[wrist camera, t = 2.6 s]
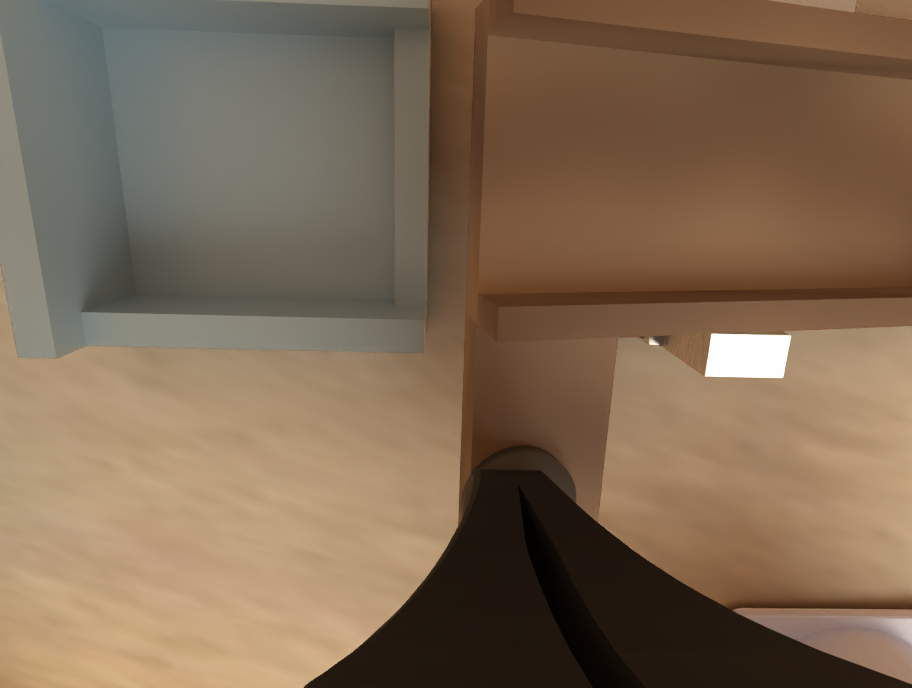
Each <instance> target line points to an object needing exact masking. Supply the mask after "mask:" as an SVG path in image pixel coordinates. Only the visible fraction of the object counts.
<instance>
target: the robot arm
mask: <svg viewBox="0 0 912 688" xmlns="http://www.w3.org/2000/svg"><path fill="white" fill-rule="evenodd" d="M304 688H912V609H802V608H738V609H734V610H730V609H729V608H727V607H725V606H723V605H721V604H719V603H717V602H715V601H714V600H712V599H710V598H708V597H706V596H704V595H702V594H700V593H699V592H697V591H695V590H694V589H692V588H690V587H688V586H687V585H685V584H683V583H682V582H680V581H678V580H677V579H675V578H674V577H672V576H671V575H669V574H667V573H666V572H664V571H663V570H661V569H660V568H658V567H657V566H655V565H653V564H652V563H650V562H649V561H647V560H646V559H644V558H643V557H642V556H640V555H639V554H637V553H636V552H635V551H633V550H632V549H631V548H629V547H628V546H627V545H625V544H624V543H623V542H622V541H620V540H619V539H618V538H616V537H615V536H614V535H612V534H611V533H610V532H609V531H607V530H606V529H605V528H604V527H603V526H601V525H600V524H599V523H598V522H597V521H595V520H594V519H593V518H592V517H591V516H590V515H589V514H587V513H586V512H585V511H584V510H583V509H582V508H581V507H580V506H578V505H577V504H576V503H575V502H574V501H573V500H572V499H571V498H570V497H569V496H568V495H567V494H566V493H564V492H563V491H562V490H561V489H560V488H559V487H558V486H557V485H556V484H555V483H554V482H553V481H552V480H551V479H550V478H549V477H548V476H547V475H546V474H544V473H543V472H542V471H541V470H490V469H480V470H478V471H477V472H476V473H475V474H474V480H473V491H472V494H471V497H470V501H469V503H468V506H467V508H466V510H465V513H464V515H463V518H462V520H461V522H460V524H459V526H458V528H457V530H456V532H455V533H454V535H453V537H452V539H451V541H450V543H449V544H448V546H447V548H446V550H445V551H444V553H443V554H442V556H441V557H440V559H439V560H438V562H437V563H436V565H435V566H434V568H433V569H432V570H431V572H430V573H429V575H428V576H427V577H426V579H425V580H424V581H423V582H422V584H421V585H420V586H419V587H418V588H417V590H416V591H415V592H414V593H413V594H412V595H411V597H410V598H409V599H408V600H407V601H406V602H405V604H404V605H403V606H402V607H401V608H400V609H399V610H398V611H397V612H396V613H395V614H394V615H393V616H392V617H391V618H390V619H389V620H388V621H387V622H386V623H384V624H383V625H382V626H381V627H380V628H379V629H378V630H377V631H376V632H375V633H374V634H373V635H372V636H370V637H369V638H368V639H367V640H366V641H365V642H364V643H363V644H362V645H360V646H359V647H358V648H357V649H356V650H354V651H353V652H352V653H351V654H349V655H348V656H346V657H345V658H344V659H342V660H341V661H339V662H338V663H337V664H335V665H334V666H333V667H331V668H330V669H328V670H327V671H326V672H324V673H323V674H321V675H320V676H318V677H317V678H315V679H314V680H312V681H311V682H309V683H308V684H307V685H306V686H305V687H304Z"/></svg>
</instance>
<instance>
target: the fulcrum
mask: <svg viewBox="0 0 912 688" xmlns="http://www.w3.org/2000/svg"><path fill="white" fill-rule="evenodd" d="M769 1H776V2H783V3H790V4H797V5H804V6H812V7H819V8H826V9H833V10H840V11H847V12H855V7H856V2H857V0H769ZM790 339H791V335H789V334H786V333H784V332H781V331H768V332H743V333H718V334H693V335H668V336H643V339H642V340H643V341H644V342H646V343H647V344H649V345H660V346H662V347H663V348H665V349H666V350H668V351H669V352H671V353H672V354H673V355H675V356H676V357H678V358H679V359H681V360H682V361H683V362H685V363H686V364H688V365H689V366H691V367H692V368H694V369H695V370H696V371H698V372H699V373H701V374H702V375H704V376H710V377H758V378H783V375H784V370H785V365H786V360H787V355H788V350H789V344H790Z"/></svg>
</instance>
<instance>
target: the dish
mask: <svg viewBox="0 0 912 688" xmlns="http://www.w3.org/2000/svg"><path fill="white" fill-rule="evenodd" d="M431 25H432V1H431V0H0V265H1V270H2V276H3V281H4V286H5V291H6V297H7V302H8V307H9V312H10V318H11V323H12V328H13V333H14V339H15V344H16V349H17V354H18V358H59V357H61V356H63V355H66V354H68V353H71V352H73V351H75V350H78V349H80V348H83V347H85V346H109V347H156V348H202V349H249V350H295V351H342V352H389V353H424V347H425V340H426V332H427V296H428V229H429V161H430V93H431Z"/></svg>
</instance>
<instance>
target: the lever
mask: <svg viewBox="0 0 912 688" xmlns="http://www.w3.org/2000/svg"><path fill="white" fill-rule="evenodd" d="M894 326H912V21H911V20H904V19H897V18H890V17H883V16H875V15H868V14H861V13H854V12H847V11H840V10H833V9H826V8H819V7H812V6H804V5H797V4H790V3H783V2H776V1H769V0H483V2H482V3H481V4H480V5H479V6H478V7H477V8H476V14H475V44H474V74H473V103H472V133H471V163H470V193H469V223H468V253H467V282H466V312H465V342H464V372H463V402H462V432H461V461H460V491H459V521H458V526H459V524H460V522H461V520H462V518H463V515H464V513H465V510H466V508H467V506H468V503H469V501H470V497H471V494H472V491H473V480H474V474H475V473H476V472H477V471H478V470H480V469H490V470H541V471H542V472H543V473H544V474H546V475H547V476H548V477H549V478H550V479H551V480H552V481H553V482H554V483H555V484H556V485H557V486H558V487H559V488H560V489H561V490H562V491H563V492H564V493H566V494H567V495H568V496H569V497H570V498H571V499H572V500H573V501H574V502H575V503H576V504H577V505H578V506H580V507H581V508H582V509H583V510H584V511H585V512H586V513H587V514H589V515H590V516H591V517H592V518H593V519H594V520H595V521H597V522H598V514H599V505H600V495H601V486H602V477H603V468H604V459H605V450H606V441H607V432H608V422H609V413H610V404H611V395H612V386H613V377H614V368H615V359H616V350H617V340H618V337H642V336H668V335H693V334H718V333H743V332H768V331H794V330H819V329H844V328H869V327H894Z"/></svg>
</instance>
